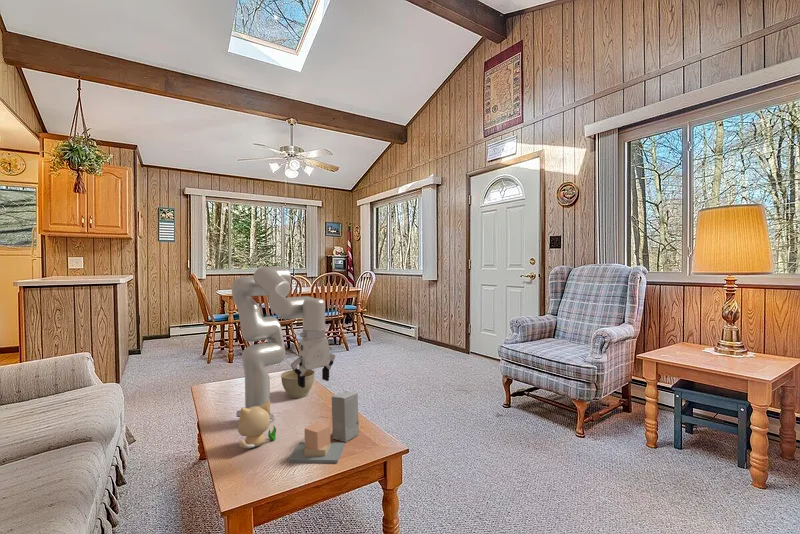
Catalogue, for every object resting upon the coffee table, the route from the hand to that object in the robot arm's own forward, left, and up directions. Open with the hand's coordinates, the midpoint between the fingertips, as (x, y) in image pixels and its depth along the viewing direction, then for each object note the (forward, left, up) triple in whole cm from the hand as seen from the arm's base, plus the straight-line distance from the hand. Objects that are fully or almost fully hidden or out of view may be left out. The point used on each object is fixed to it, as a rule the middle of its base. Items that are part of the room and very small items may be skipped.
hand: (313, 383), depth 131 cm
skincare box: (+9, +10, -23) cm, 27 cm away
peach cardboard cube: (+2, -3, -20) cm, 20 cm away
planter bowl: (-23, +55, -23) cm, 64 cm away
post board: (+2, -3, -23) cm, 23 cm away
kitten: (-22, +3, -23) cm, 32 cm away
